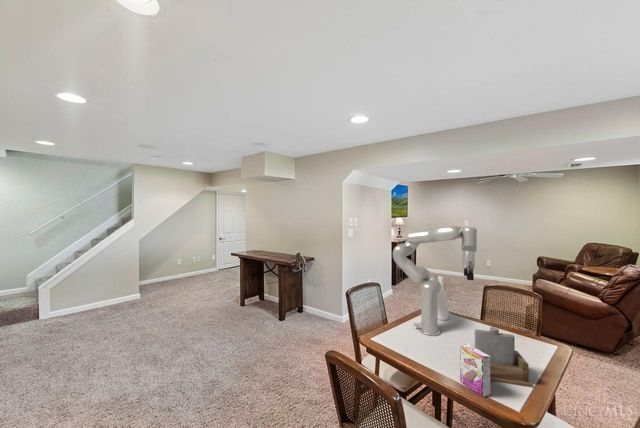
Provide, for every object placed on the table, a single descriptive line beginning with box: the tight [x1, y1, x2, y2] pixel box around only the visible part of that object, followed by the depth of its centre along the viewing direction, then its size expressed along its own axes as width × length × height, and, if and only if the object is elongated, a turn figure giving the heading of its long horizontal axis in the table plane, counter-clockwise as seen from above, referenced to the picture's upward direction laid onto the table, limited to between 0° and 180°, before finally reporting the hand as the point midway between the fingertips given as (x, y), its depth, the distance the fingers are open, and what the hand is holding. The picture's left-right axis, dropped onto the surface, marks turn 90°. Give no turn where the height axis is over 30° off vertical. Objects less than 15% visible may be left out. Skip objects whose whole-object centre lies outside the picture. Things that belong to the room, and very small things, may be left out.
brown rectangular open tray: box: [491, 350, 534, 388], centre depth 125 cm, size 15×24×9 cm, turn 73°
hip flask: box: [474, 326, 516, 366], centre depth 126 cm, size 16×4×20 cm, turn 66°
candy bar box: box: [459, 343, 492, 398], centre depth 114 cm, size 11×5×16 cm, turn 21°
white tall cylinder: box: [437, 275, 449, 321], centre depth 190 cm, size 10×10×30 cm
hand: (468, 277), depth 155 cm, fingers open, 9 cm apart
